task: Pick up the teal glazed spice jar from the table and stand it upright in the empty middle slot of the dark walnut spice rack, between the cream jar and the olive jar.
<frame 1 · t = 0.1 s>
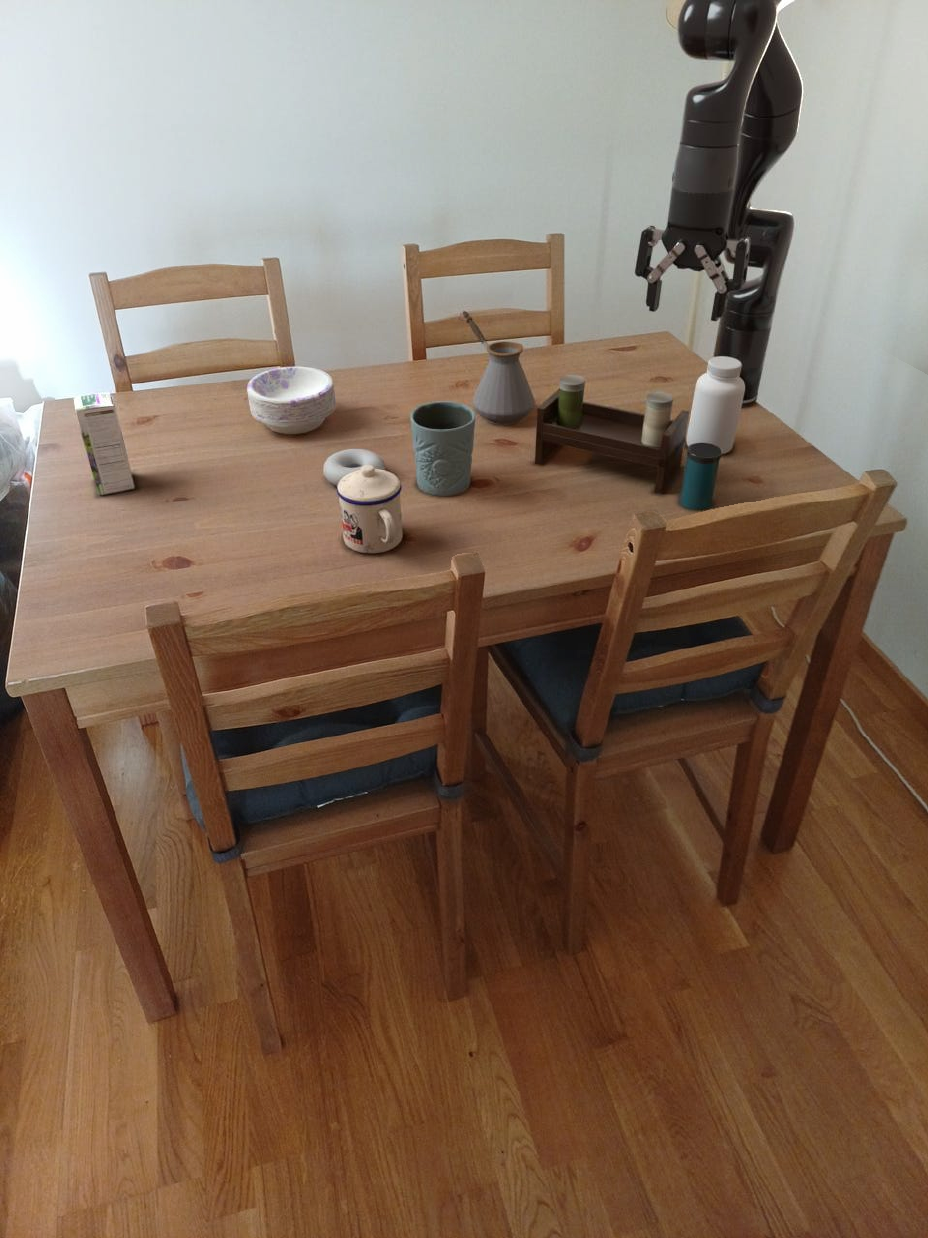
hand: (683, 314, 119), 29 cm above the table, tool pointing down, fingers open, 8 cm apart
coffee pot: (490, 407, 166), on the table
paper bowls: (295, 424, 160), on the table
donut: (355, 478, 144), on the table
syrup box: (116, 485, 143), on the table
spice jar: (695, 502, 137), on the table
spice rack: (607, 465, 147), on the table
teal embossed cup: (444, 484, 142), on the table
teacup with lid: (377, 544, 128), on the table
pill bottle: (709, 446, 152), on the table
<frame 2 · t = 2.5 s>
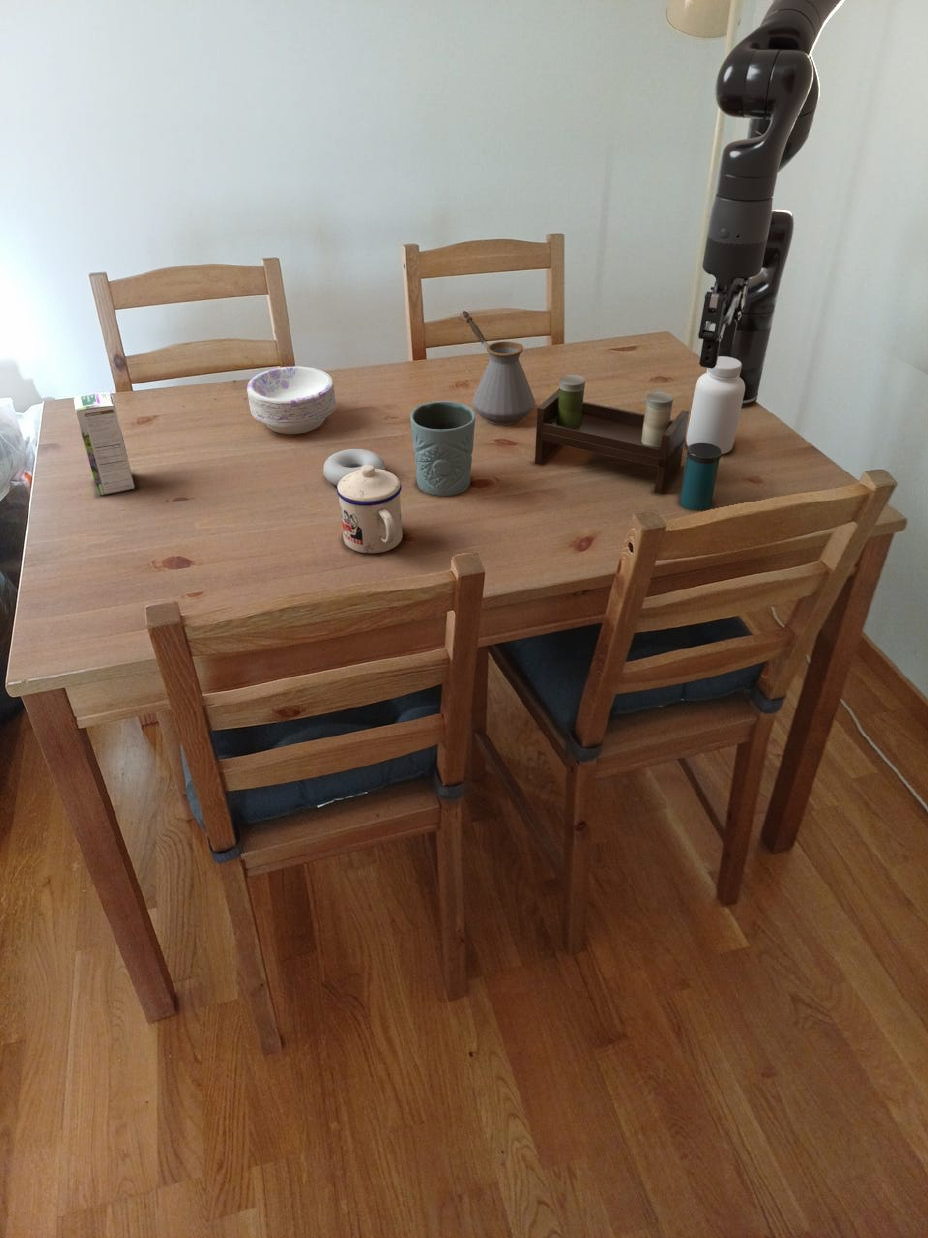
hand: (716, 356, 123), 23 cm above the table, tool pointing down, fingers open, 8 cm apart
nothing on the table moved.
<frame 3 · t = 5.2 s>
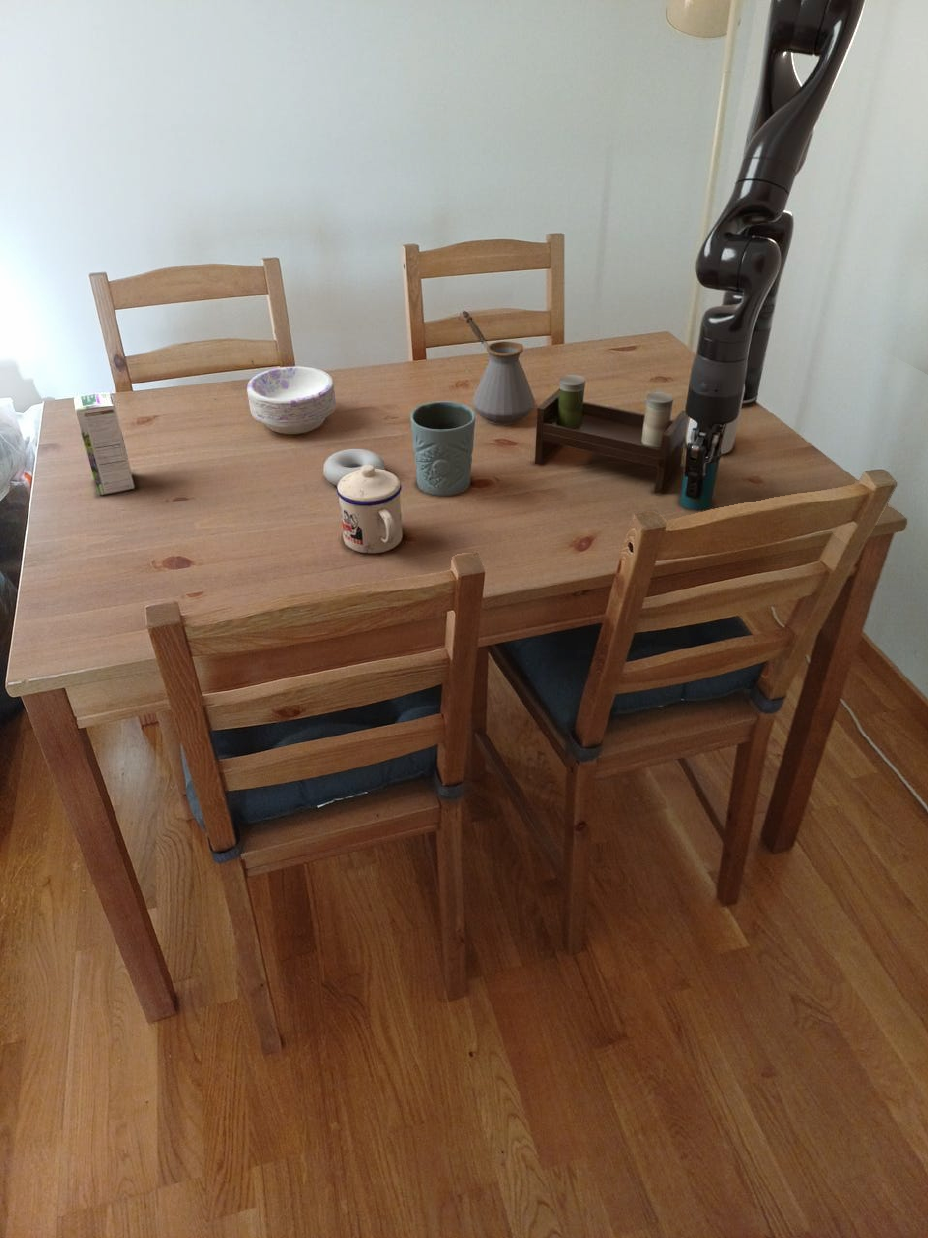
hand: (697, 488, 135), 2 cm above the table, tool pointing down, fingers closed on spice jar, 4 cm apart
spice jar: (695, 502, 137), on the table, touching gripper
everything else where it was.
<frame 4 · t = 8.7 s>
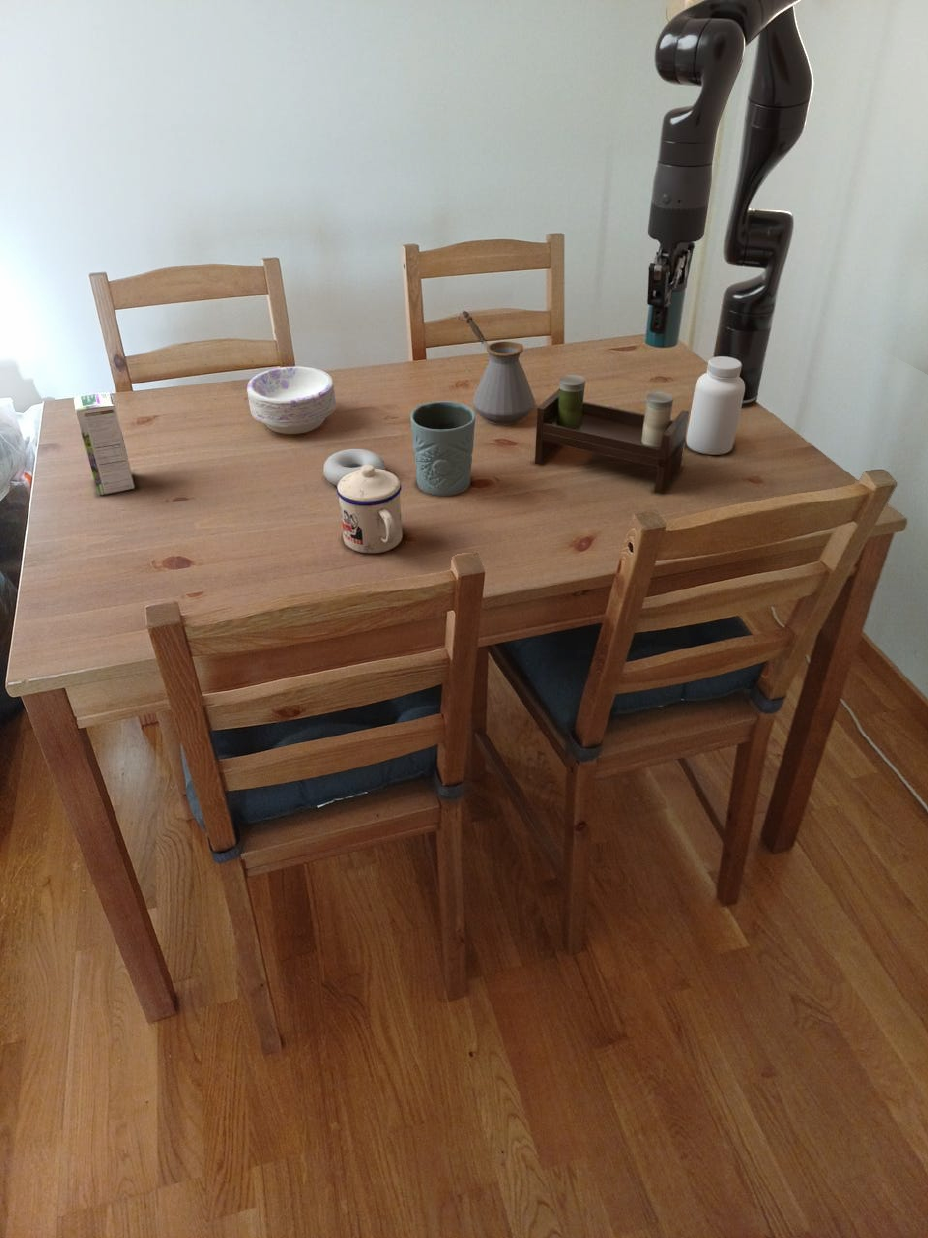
hand: (663, 325, 127), 25 cm above the table, tool pointing down, fingers closed on spice jar, 4 cm apart
spice jar: (661, 341, 129), point 23 cm above the table, touching gripper
everything else where it was.
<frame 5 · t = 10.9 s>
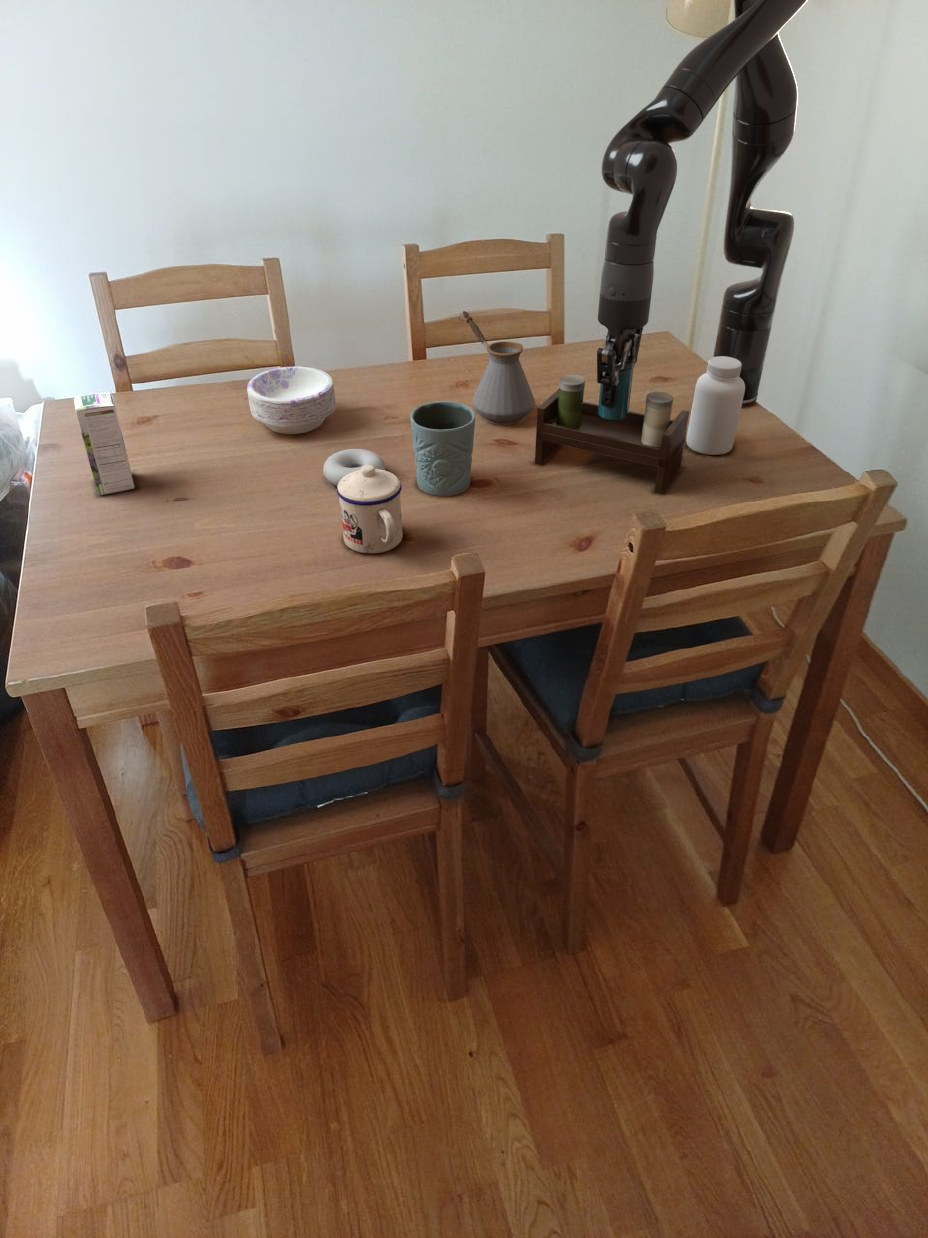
hand: (614, 399, 139), 12 cm above the table, tool pointing down, fingers closed on spice jar, 4 cm apart
spice jar: (612, 413, 141), point 9 cm above the table, touching gripper
everything else where it was.
when the fingers open (8 cm above the table, at t = 12.3 s): spice jar stays where it is, resting on spice rack.
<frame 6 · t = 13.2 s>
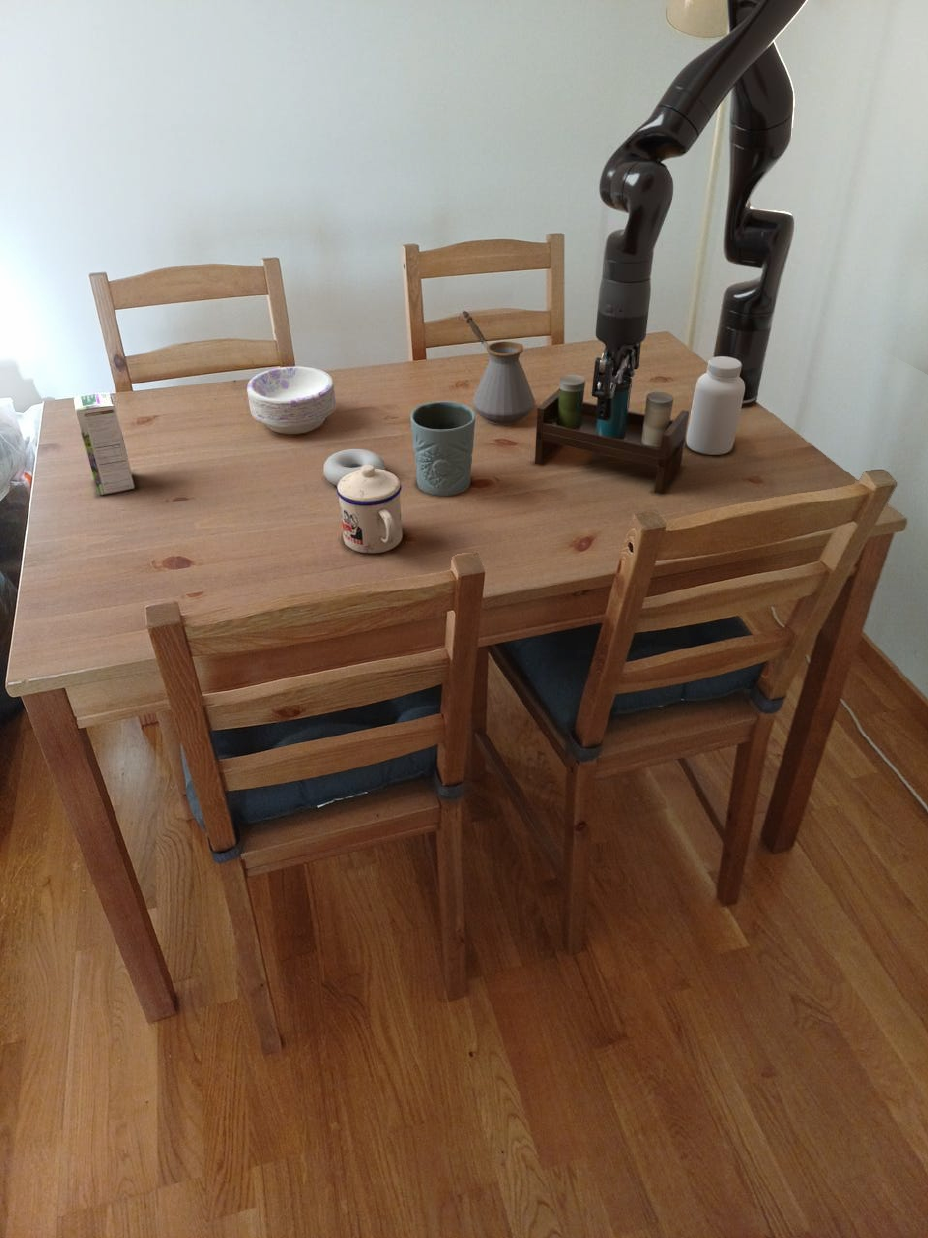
hand: (612, 408, 140), 10 cm above the table, tool pointing down, fingers open, 8 cm apart
spice jar: (610, 432, 143), point 6 cm above the table, touching spice rack
everything else where it was.
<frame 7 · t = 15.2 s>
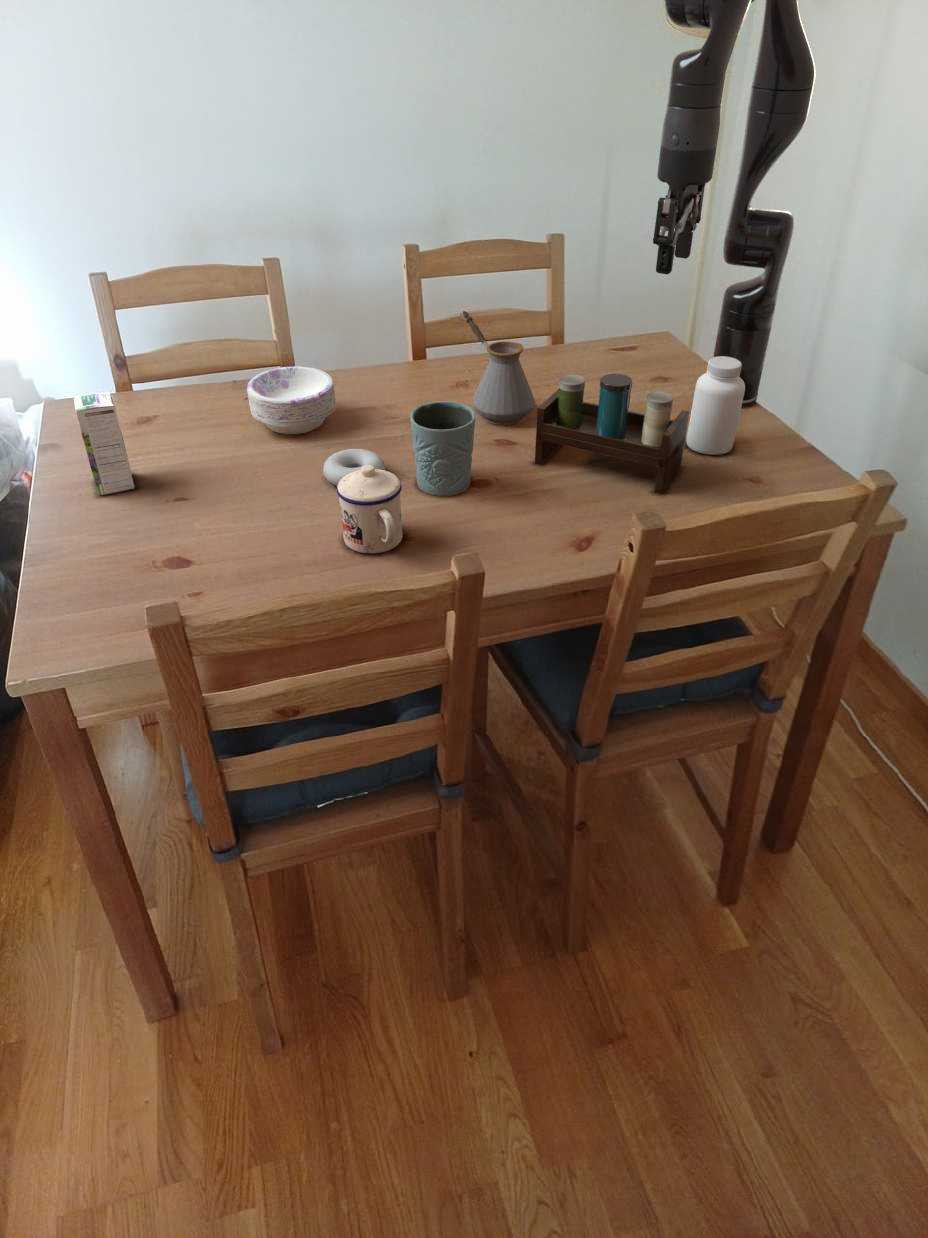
hand: (672, 264, 130), 31 cm above the table, tool pointing down, fingers open, 8 cm apart
nothing on the table moved.
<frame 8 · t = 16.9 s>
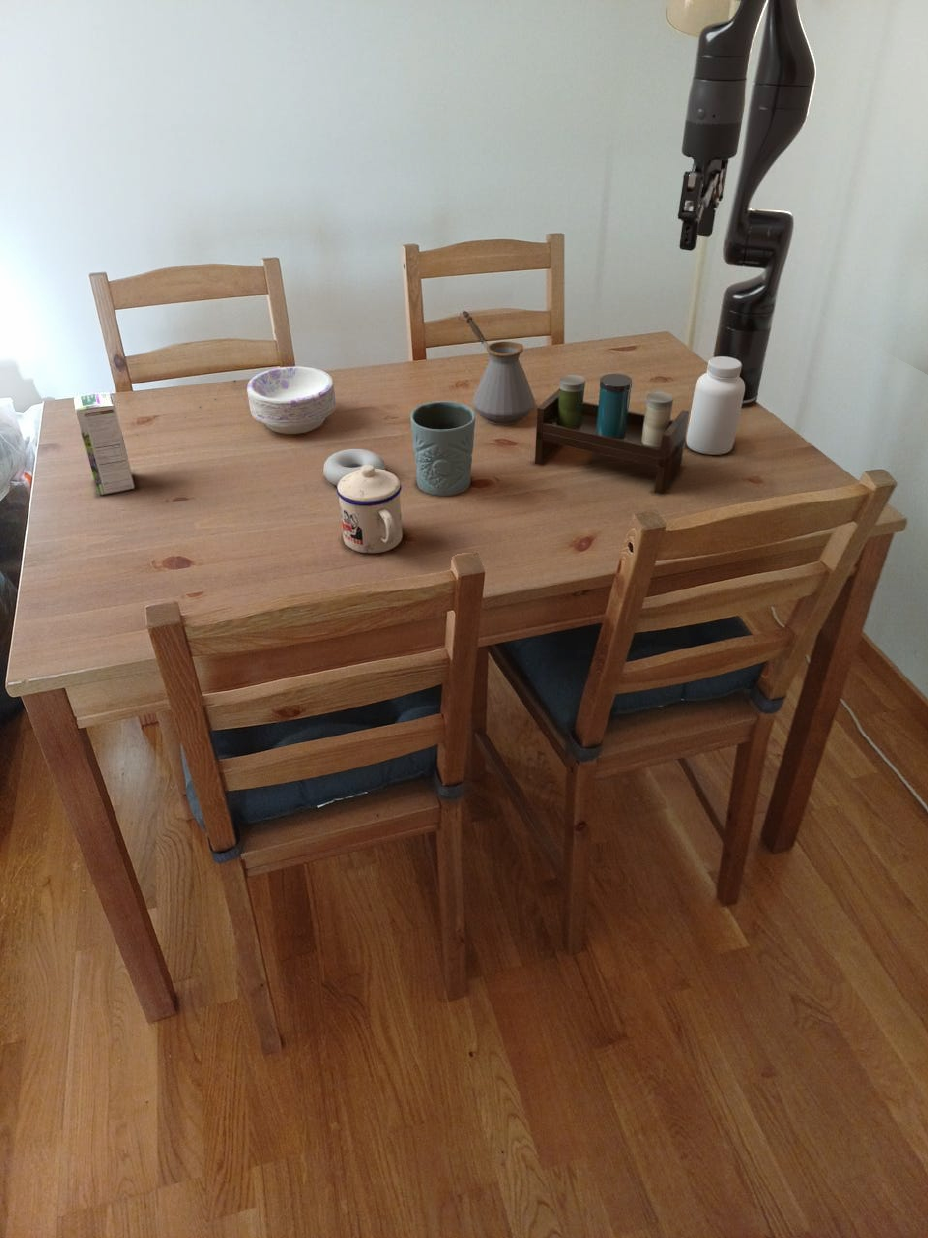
hand: (695, 242, 129), 34 cm above the table, tool pointing down, fingers open, 8 cm apart
nothing on the table moved.
at the end: spice jar 0.1 cm off-centre on the spice rack, point 6.0 cm above the spice rack's base; spice jar tilted 0°; the gripper is holding nothing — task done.
